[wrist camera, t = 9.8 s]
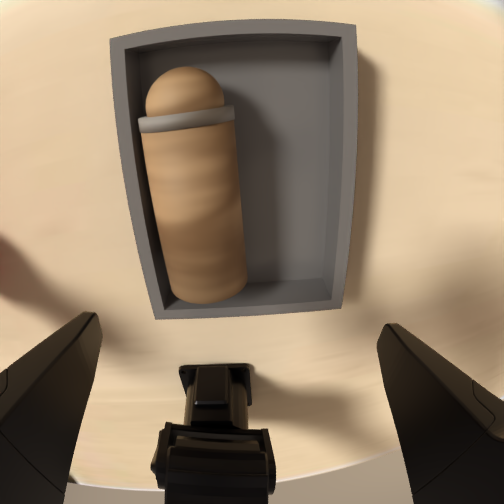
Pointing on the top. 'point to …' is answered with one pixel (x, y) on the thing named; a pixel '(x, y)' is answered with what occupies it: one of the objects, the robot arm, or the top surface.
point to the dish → (257, 154)
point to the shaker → (195, 185)
